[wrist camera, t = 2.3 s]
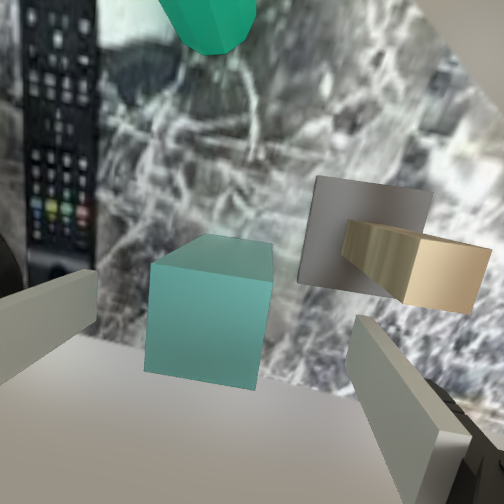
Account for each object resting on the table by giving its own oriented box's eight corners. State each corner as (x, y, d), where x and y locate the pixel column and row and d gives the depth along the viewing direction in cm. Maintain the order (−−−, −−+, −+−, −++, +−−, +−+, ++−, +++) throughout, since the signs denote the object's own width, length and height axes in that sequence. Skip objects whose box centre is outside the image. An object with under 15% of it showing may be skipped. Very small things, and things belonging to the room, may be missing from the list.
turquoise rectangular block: (198, 296, 22) (144, 371, 12) (205, 233, 21) (150, 263, 11) (261, 306, 21) (255, 390, 12) (271, 243, 20) (273, 282, 11)
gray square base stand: (297, 280, 21) (320, 353, 11) (316, 176, 19) (364, 152, 9) (399, 297, 21) (517, 386, 11) (428, 192, 19) (598, 185, 9)
